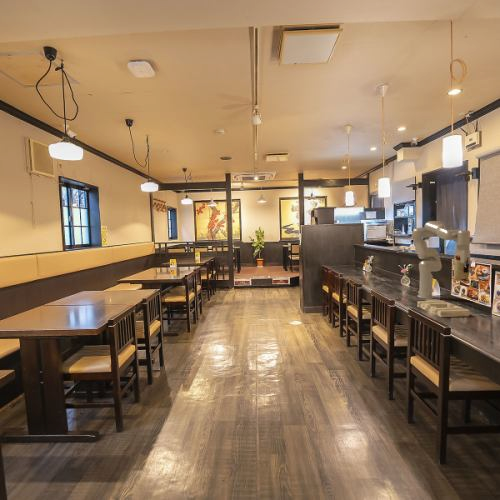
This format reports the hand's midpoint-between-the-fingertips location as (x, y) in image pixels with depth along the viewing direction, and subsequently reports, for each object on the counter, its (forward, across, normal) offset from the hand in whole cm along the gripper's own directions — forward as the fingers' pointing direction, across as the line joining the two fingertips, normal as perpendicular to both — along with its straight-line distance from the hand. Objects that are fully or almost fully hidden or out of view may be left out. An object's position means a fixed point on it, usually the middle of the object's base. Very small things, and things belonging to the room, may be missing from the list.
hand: (461, 271), depth 222 cm
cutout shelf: (+28, +4, -17) cm, 33 cm away
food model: (+7, 0, 0) cm, 7 cm away
